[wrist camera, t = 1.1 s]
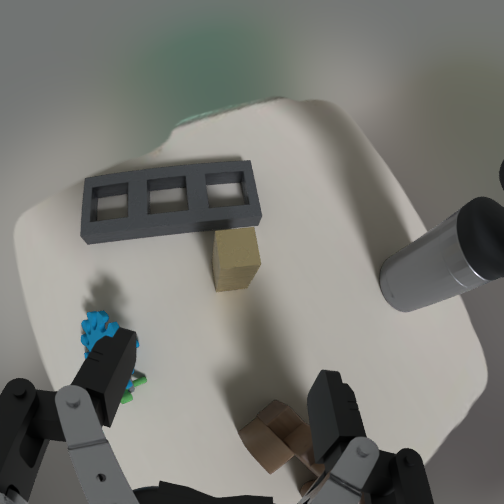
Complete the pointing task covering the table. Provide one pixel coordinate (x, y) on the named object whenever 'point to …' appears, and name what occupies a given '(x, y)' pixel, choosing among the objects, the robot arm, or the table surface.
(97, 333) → the gear
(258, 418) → the wooden toy
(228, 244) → the brass post
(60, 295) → the table surface
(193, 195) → the grey flat frame block
